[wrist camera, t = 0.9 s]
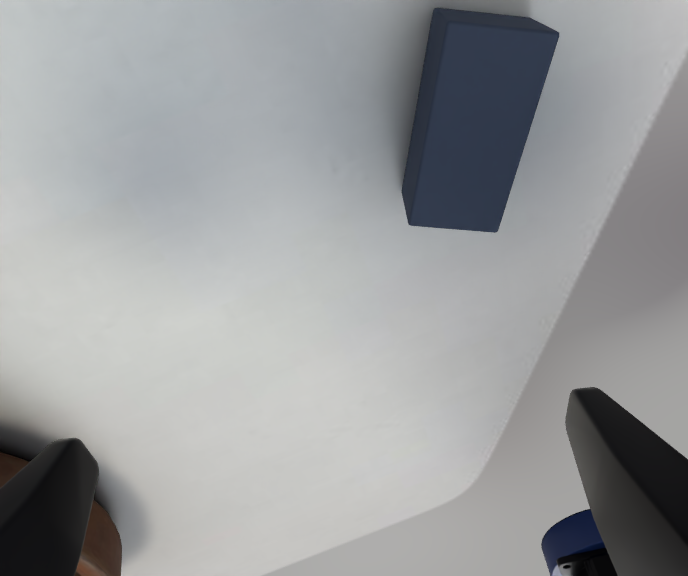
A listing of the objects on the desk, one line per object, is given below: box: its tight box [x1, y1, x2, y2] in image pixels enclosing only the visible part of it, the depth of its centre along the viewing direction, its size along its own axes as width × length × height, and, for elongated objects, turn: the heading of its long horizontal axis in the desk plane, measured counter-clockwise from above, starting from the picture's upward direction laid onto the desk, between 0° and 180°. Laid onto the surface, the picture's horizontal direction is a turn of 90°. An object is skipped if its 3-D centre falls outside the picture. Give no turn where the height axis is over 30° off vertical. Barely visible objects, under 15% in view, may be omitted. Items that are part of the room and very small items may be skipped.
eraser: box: [402, 8, 559, 232], centre depth 15 cm, size 6×3×2 cm, turn 175°
